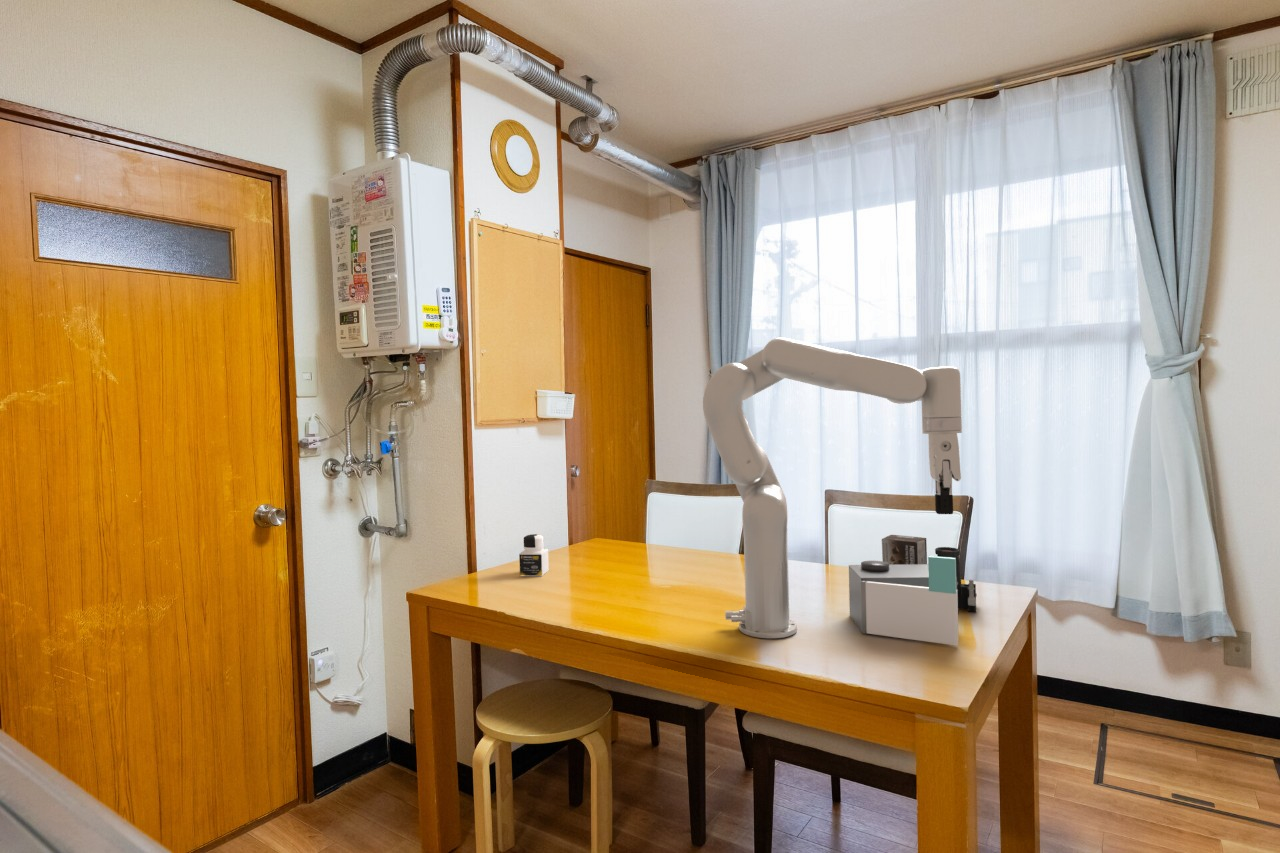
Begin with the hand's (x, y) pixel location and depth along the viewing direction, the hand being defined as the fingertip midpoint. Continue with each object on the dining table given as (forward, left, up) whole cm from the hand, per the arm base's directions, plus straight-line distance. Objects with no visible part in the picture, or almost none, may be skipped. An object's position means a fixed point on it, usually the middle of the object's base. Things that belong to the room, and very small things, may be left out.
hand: (944, 513), depth 140 cm
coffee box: (-1, +26, -26) cm, 37 cm away
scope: (+9, +22, -26) cm, 35 cm away
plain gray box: (-7, +9, -26) cm, 28 cm away
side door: (-9, -2, -26) cm, 27 cm away
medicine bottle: (-103, +58, -26) cm, 121 cm away
